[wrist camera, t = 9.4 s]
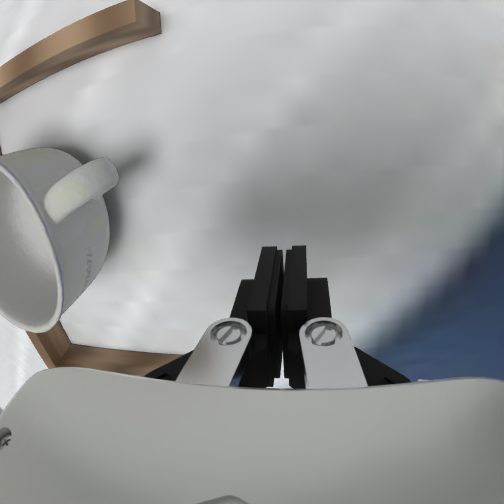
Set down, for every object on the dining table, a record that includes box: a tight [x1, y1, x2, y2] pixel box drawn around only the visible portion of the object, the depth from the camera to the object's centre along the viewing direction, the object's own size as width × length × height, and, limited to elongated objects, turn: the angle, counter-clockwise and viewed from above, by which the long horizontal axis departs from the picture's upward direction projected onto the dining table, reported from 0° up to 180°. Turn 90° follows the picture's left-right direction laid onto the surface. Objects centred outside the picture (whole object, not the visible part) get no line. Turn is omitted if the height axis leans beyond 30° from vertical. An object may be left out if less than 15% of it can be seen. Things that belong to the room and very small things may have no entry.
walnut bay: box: [0, 0, 183, 377], centre depth 19 cm, size 18×27×4 cm, turn 6°
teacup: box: [0, 148, 119, 333], centre depth 16 cm, size 14×11×8 cm
